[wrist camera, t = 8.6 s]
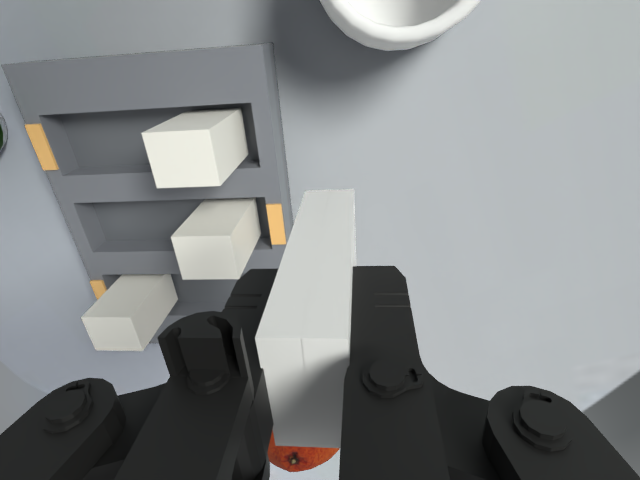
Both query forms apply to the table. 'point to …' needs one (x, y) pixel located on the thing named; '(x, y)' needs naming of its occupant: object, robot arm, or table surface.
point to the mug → (396, 20)
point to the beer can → (2, 132)
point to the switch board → (133, 163)
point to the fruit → (298, 456)
